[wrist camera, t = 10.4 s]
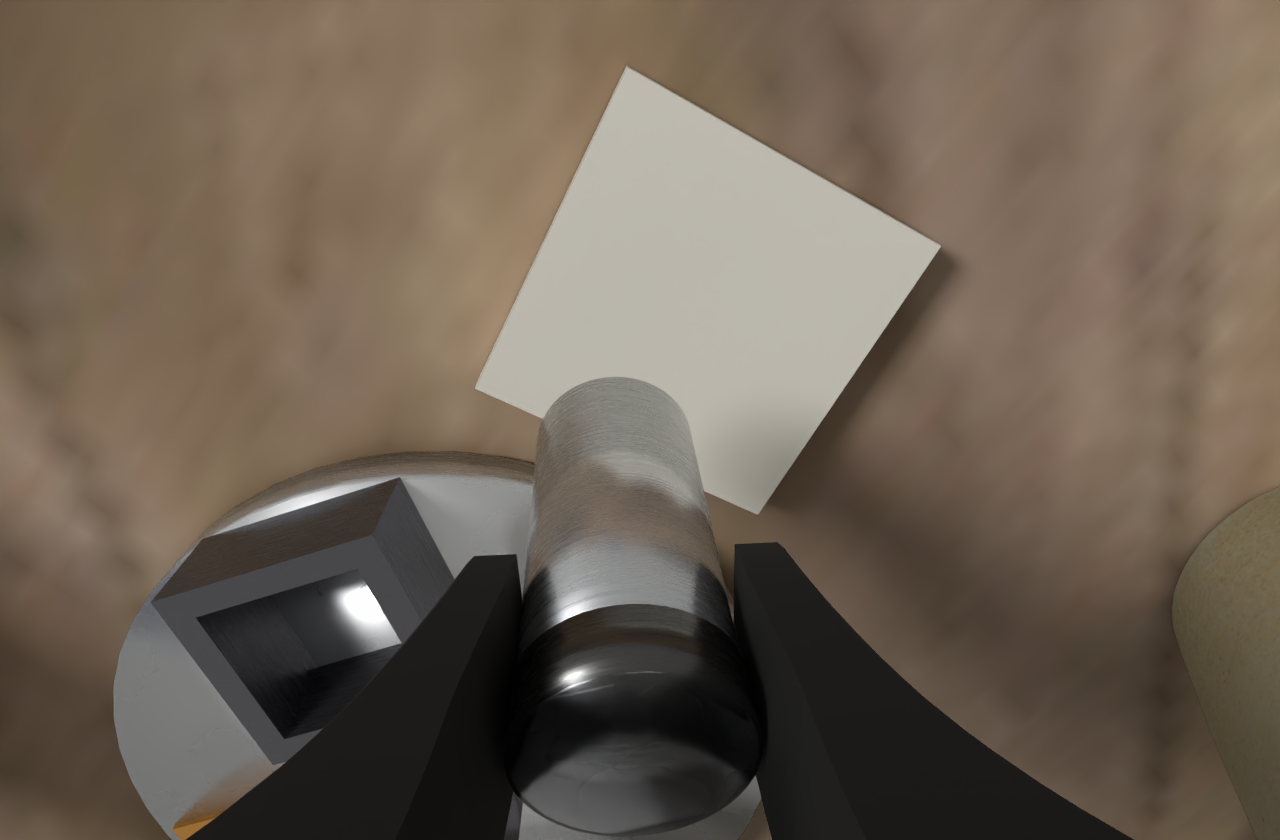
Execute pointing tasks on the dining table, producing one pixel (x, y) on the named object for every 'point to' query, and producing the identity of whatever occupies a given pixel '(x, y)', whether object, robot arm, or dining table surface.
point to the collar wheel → (314, 626)
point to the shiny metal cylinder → (625, 627)
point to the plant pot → (1238, 650)
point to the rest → (706, 286)
